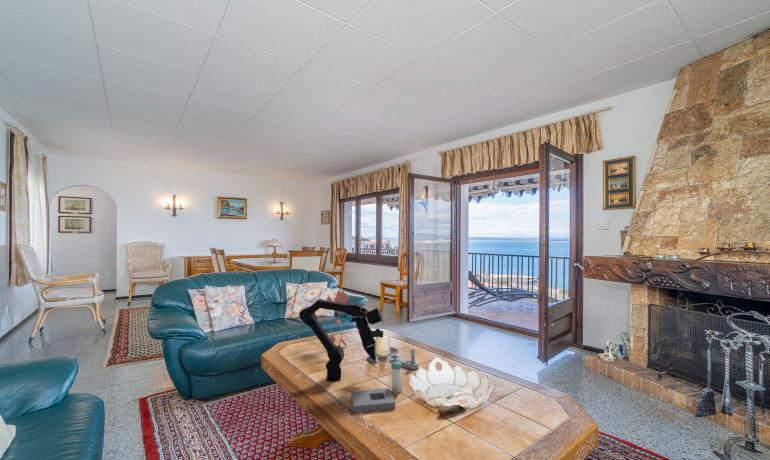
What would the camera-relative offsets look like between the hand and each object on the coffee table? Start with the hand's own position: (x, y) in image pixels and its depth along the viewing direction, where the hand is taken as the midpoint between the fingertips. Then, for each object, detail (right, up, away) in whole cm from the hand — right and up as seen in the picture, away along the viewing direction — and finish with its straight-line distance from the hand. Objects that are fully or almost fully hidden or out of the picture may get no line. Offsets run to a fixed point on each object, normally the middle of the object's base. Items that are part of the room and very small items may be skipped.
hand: (374, 359), depth 167 cm
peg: (+10, -11, -8) cm, 17 cm away
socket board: (0, -11, -19) cm, 22 cm away
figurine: (-23, -12, +57) cm, 62 cm away
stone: (+31, -11, -26) cm, 42 cm away
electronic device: (+17, -12, +22) cm, 30 cm away
